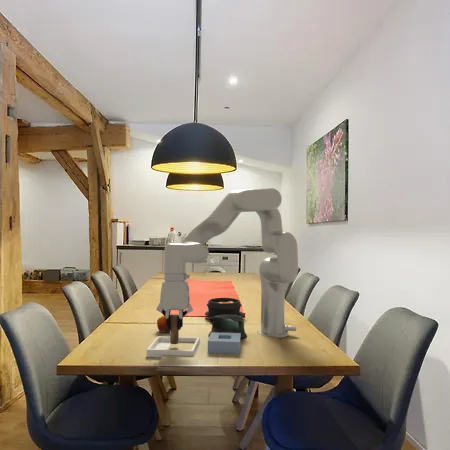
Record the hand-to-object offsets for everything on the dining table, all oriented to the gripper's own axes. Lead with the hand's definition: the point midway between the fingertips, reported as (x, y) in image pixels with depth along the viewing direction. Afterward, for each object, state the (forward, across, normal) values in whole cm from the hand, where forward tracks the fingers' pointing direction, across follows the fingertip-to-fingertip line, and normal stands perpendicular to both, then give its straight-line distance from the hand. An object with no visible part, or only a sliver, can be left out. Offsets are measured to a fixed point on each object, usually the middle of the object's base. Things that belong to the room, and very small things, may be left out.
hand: (174, 328), depth 145 cm
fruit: (+8, +8, -24) cm, 27 cm away
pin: (+5, 0, 0) cm, 5 cm away
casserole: (+8, -14, -51) cm, 54 cm away
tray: (+8, 0, 0) cm, 8 cm away
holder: (+8, -18, -1) cm, 20 cm away
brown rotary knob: (+8, -18, -16) cm, 26 cm away
